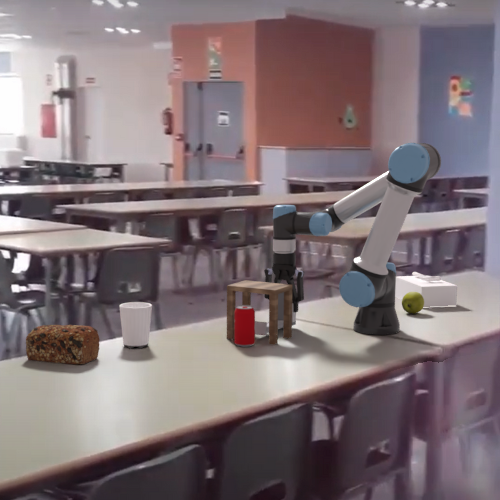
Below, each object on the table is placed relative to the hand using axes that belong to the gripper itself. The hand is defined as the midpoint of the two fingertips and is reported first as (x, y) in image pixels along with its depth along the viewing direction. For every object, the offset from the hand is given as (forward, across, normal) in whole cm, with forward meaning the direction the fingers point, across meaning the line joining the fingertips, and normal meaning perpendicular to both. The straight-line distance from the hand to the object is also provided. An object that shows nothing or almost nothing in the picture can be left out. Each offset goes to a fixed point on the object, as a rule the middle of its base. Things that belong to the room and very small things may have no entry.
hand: (283, 320), depth 306 cm
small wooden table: (+3, +1, +17) cm, 17 cm away
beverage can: (+3, 0, +28) cm, 28 cm away
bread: (+3, +38, +68) cm, 78 cm away
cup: (+3, +29, +45) cm, 53 cm away
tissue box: (+3, -27, -71) cm, 76 cm away
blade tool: (+1, 0, +9) cm, 9 cm away
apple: (+3, -30, -46) cm, 55 cm away
